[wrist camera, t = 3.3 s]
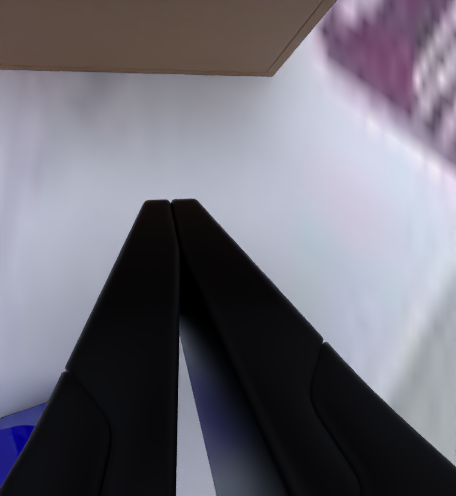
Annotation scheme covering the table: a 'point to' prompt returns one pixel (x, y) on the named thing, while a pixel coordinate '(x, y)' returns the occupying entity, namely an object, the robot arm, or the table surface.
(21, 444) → the cable holder
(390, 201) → the table surface
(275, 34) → the carton
